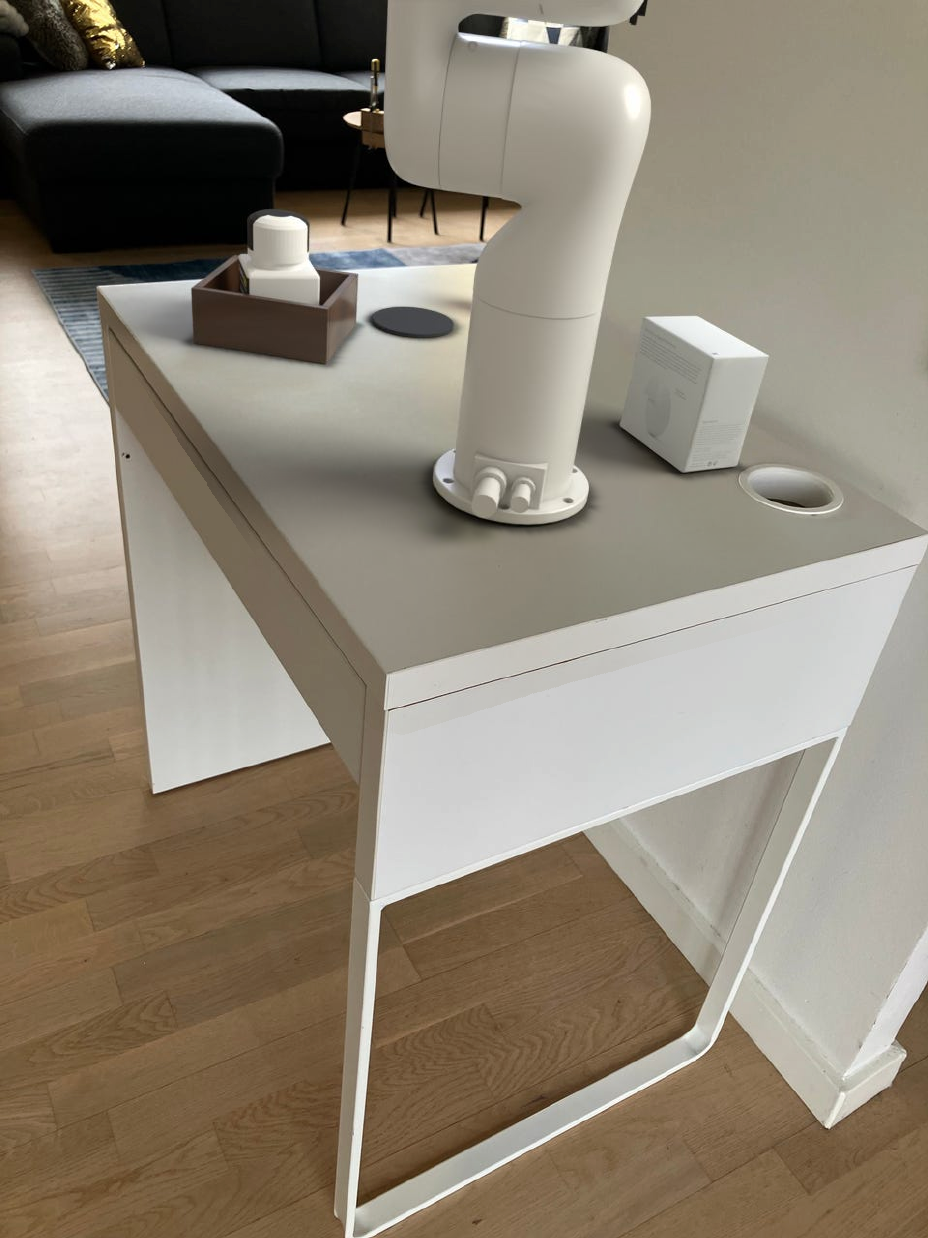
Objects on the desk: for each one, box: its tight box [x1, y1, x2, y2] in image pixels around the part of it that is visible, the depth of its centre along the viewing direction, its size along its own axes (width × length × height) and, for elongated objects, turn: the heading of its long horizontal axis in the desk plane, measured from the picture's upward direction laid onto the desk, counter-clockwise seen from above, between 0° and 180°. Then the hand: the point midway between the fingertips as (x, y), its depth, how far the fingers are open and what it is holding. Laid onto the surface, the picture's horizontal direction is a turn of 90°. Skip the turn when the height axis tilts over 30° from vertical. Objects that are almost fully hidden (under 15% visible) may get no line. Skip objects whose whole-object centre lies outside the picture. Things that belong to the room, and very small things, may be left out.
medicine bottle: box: [238, 208, 320, 305], centre depth 104 cm, size 7×7×12 cm
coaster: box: [372, 306, 455, 339], centre depth 114 cm, size 9×9×1 cm
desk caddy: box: [190, 254, 359, 365], centre depth 106 cm, size 13×14×6 cm
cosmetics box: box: [619, 315, 770, 474], centre depth 91 cm, size 10×6×10 cm, turn 25°
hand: (585, 17), depth 103 cm, fingers open, 9 cm apart
